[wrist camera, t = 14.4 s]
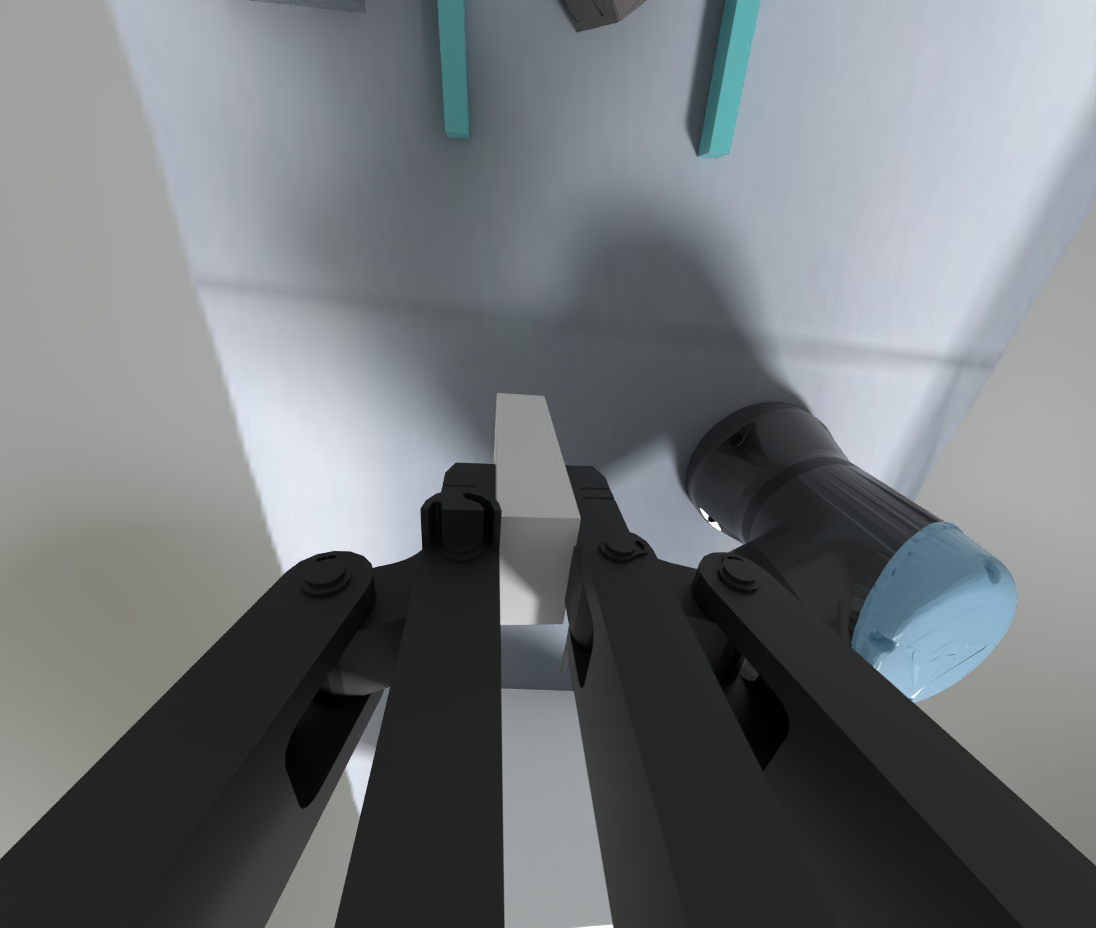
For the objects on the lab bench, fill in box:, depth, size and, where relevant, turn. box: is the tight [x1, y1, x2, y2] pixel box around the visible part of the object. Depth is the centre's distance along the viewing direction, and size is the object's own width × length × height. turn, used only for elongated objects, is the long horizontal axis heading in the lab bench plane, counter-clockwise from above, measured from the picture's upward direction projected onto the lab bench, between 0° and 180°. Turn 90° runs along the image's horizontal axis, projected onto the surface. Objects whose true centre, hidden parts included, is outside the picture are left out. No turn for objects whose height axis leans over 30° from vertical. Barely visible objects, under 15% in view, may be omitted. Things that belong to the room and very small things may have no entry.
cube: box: [501, 689, 613, 928], centre depth 57 cm, size 25×21×24 cm
